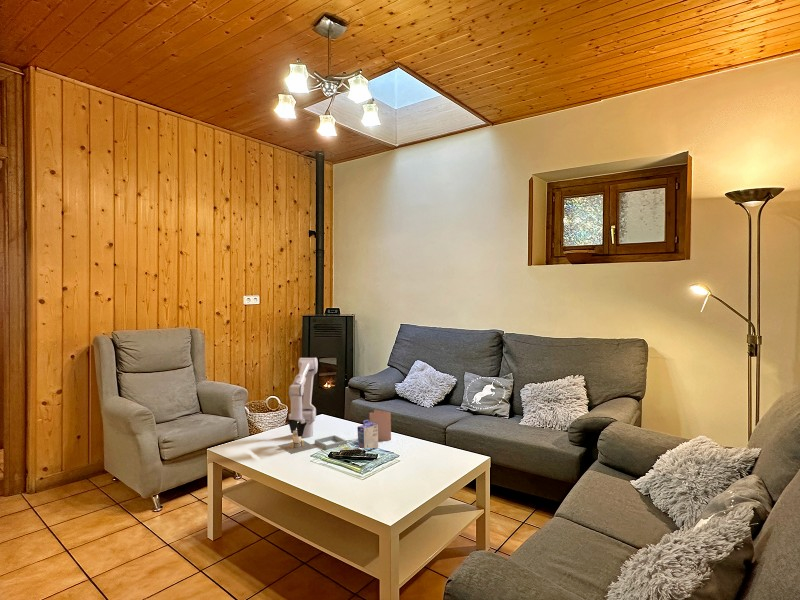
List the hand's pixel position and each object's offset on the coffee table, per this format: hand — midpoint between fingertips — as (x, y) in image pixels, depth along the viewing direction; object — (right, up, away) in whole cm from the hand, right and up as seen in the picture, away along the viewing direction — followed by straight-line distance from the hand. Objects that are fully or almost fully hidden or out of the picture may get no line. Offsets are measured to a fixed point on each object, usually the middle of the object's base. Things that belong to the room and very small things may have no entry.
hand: (296, 434), depth 232 cm
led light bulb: (0, -6, 0) cm, 6 cm away
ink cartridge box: (+36, -8, 0) cm, 37 cm away
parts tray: (+17, -7, +3) cm, 19 cm away
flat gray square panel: (0, -8, 0) cm, 8 cm away
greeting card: (+41, -7, +14) cm, 44 cm away
